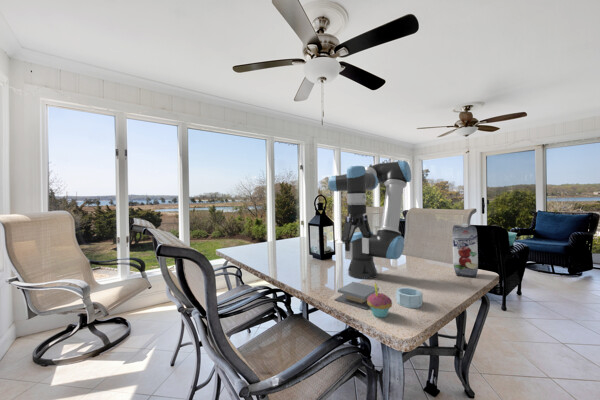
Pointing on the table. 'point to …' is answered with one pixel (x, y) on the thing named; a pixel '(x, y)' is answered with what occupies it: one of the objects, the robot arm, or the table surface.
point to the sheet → (358, 290)
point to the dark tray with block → (353, 301)
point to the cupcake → (379, 303)
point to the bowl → (409, 297)
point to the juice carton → (465, 250)
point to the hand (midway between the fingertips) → (357, 256)
